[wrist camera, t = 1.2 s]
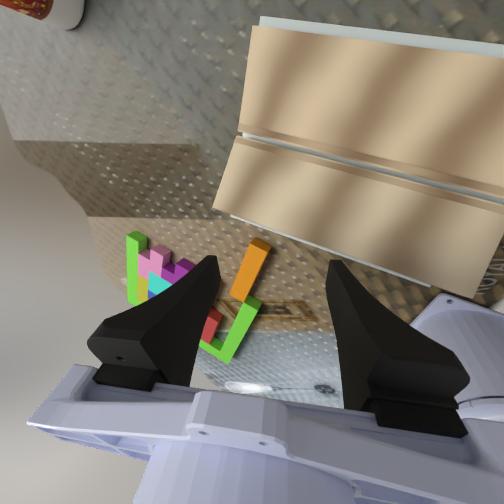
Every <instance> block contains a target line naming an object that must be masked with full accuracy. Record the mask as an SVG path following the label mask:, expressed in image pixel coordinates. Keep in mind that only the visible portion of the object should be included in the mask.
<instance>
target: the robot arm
mask: <svg viewBox="0 0 504 504" xmlns="http://www.w3.org/2000/svg"><path fill="white" fill-rule="evenodd" d="M220 281H221V276H220V271H219V266H218V261H217V256H214V255H207V256H206V257H205V258H204V259H203V260H202V261H200V262H199V263H198V264H197V265H196V266H195V267H194V268H193V269H191V270H190V271H189V272H188V273H187V274H185V275H184V276H183V277H182V278H180V279H179V280H178V281H177V282H175V283H174V284H173V285H171V286H170V287H168V288H167V289H165V290H164V291H162V292H161V293H159V294H157V295H156V296H154V297H152V298H150V299H149V300H147V301H145V302H143V303H141V304H139V305H137V306H135V307H133V308H131V309H129V310H126V311H124V312H122V313H119V314H117V315H114V316H112V317H109V318H107V319H105V320H104V321H103V322H102V323H101V325H100V326H99V327H98V328H97V329H96V331H95V332H94V333H93V334H92V335H91V336H90V338H89V339H88V341H87V345H88V348H89V349H90V350H91V351H92V353H93V354H94V355H95V356H96V357H97V358H98V359H99V360H100V361H101V362H102V363H103V364H102V365H101V366H100V368H99V369H97V368H95V367H92V366H85V365H78V364H75V365H73V366H72V367H71V368H70V369H69V371H68V372H67V373H66V374H65V375H64V377H63V378H62V379H61V380H60V382H59V383H58V384H57V385H56V386H55V388H54V389H53V390H52V391H51V393H50V394H49V395H48V396H47V397H46V399H45V400H44V401H43V402H42V404H41V405H40V406H39V407H38V409H37V410H36V411H35V412H34V413H33V415H32V416H31V417H30V418H29V419H28V421H27V425H29V426H32V427H34V428H36V429H38V430H40V431H42V432H44V433H46V434H49V435H51V436H53V437H55V438H57V439H59V440H61V441H66V442H71V443H76V444H80V445H84V446H88V447H93V448H97V449H101V450H105V451H108V452H113V453H116V454H120V455H124V456H128V457H132V458H135V459H139V460H143V461H147V462H148V465H147V467H146V470H145V472H144V475H143V477H142V480H141V483H140V485H139V488H138V491H137V493H136V496H135V498H134V501H133V503H132V504H504V314H502V313H499V312H497V311H494V310H491V309H488V308H485V307H483V306H480V305H477V304H474V303H471V302H469V301H466V300H463V299H460V298H457V297H454V296H452V295H449V294H446V293H441V294H439V295H437V296H436V297H435V298H434V299H433V301H432V302H431V303H430V304H429V305H428V306H427V307H426V308H425V309H424V310H423V311H422V312H421V313H420V314H419V315H418V317H417V318H416V319H415V320H414V321H413V322H412V323H411V324H410V325H409V324H407V323H406V322H404V321H403V320H402V319H400V318H399V317H397V316H396V315H395V314H393V313H392V312H391V311H390V310H388V309H387V308H386V307H385V306H384V305H382V304H381V303H380V302H379V301H378V300H377V299H375V298H374V297H373V296H372V295H371V294H370V293H369V292H368V291H367V290H366V289H365V288H364V287H363V286H362V284H361V283H360V282H359V281H358V280H357V279H356V278H355V277H354V275H353V274H352V273H351V272H350V271H349V269H348V268H347V267H346V266H345V264H344V263H343V262H342V261H341V260H330V263H329V268H328V273H327V278H326V284H325V285H326V294H327V301H328V305H329V309H330V313H331V317H332V321H333V325H334V330H335V334H336V339H337V347H338V354H339V362H340V371H341V380H342V390H343V401H344V409H340V408H333V407H326V406H319V405H312V404H305V403H298V402H291V401H284V400H277V399H271V398H267V397H261V396H254V395H247V394H240V393H232V392H225V391H218V390H206V389H199V388H192V387H189V385H190V381H191V376H192V371H193V367H194V363H195V359H196V354H197V351H198V347H199V343H200V339H201V336H202V332H203V329H204V326H205V323H206V320H207V317H208V315H209V313H210V310H211V308H212V305H213V303H214V300H215V298H216V295H217V292H218V289H219V285H220ZM450 299H451V301H447V300H450Z"/></svg>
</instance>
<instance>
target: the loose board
mask: <svg viewBox="0 0 504 504" xmlns="http://www.w3.org/2000/svg"><path fill="white" fill-rule="evenodd" d="M213 208H215V209H217V210H220V211H223V212H226V213H228V214H231V215H234V216H237V217H240V218H243V219H245V220H248V221H251V222H254V223H257V224H260V225H262V226H265V227H268V228H271V229H274V230H277V231H279V232H282V233H285V234H288V235H291V236H294V237H296V238H299V239H302V240H305V241H308V242H311V243H313V244H316V245H319V246H322V247H325V248H328V249H330V250H333V251H336V252H339V253H342V254H345V255H347V256H350V257H353V258H356V259H359V260H362V261H365V262H367V263H370V264H373V265H376V266H379V267H382V268H384V269H387V270H390V271H393V272H396V273H399V274H401V275H404V276H407V277H410V278H413V279H416V280H418V281H421V282H424V283H427V284H430V285H433V286H435V287H438V288H441V289H444V290H447V291H450V292H452V293H455V294H458V295H461V296H465V297H468V298H472V299H473V297H474V295H475V293H476V291H477V289H478V287H479V285H480V282H481V280H482V278H483V276H484V274H485V272H486V270H487V268H488V266H489V263H490V261H491V259H492V257H493V255H494V253H495V251H496V249H497V247H498V244H499V242H500V240H501V238H502V236H503V234H504V205H503V204H499V203H495V202H491V201H487V200H483V199H479V198H476V197H472V196H468V195H464V194H460V193H456V192H452V191H449V190H445V189H441V188H437V187H433V186H429V185H425V184H422V183H418V182H414V181H410V180H406V179H402V178H399V177H395V176H391V175H387V174H383V173H379V172H375V171H372V170H368V169H364V168H360V167H356V166H352V165H348V164H345V163H341V162H337V161H333V160H329V159H325V158H321V157H318V156H314V155H310V154H306V153H302V152H298V151H294V150H291V149H287V148H283V147H279V146H275V145H271V144H268V143H264V142H260V141H256V140H252V139H248V138H244V137H241V136H236V138H235V141H234V145H233V148H232V151H231V154H230V157H229V160H228V163H227V166H226V169H225V172H224V174H223V177H222V180H221V183H220V186H219V189H218V192H217V195H216V198H215V201H214V204H213Z"/></svg>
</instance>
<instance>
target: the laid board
mask: <svg viewBox="0 0 504 504" xmlns="http://www.w3.org/2000/svg"><path fill="white" fill-rule="evenodd" d="M238 131H240V132H243V133H247V134H251V135H255V136H259V137H263V138H267V139H271V140H275V141H279V142H283V143H287V144H291V145H295V146H299V147H303V148H306V149H310V150H314V151H318V152H322V153H326V154H330V155H334V156H338V157H342V158H346V159H350V160H354V161H358V162H362V163H365V164H369V165H373V166H377V167H381V168H385V169H389V170H393V171H397V172H401V173H405V174H409V175H413V176H417V177H421V178H425V179H428V180H432V181H436V182H440V183H444V184H448V185H452V186H456V187H460V188H464V189H468V190H472V191H476V192H480V193H484V194H487V195H491V196H495V197H499V198H503V199H504V58H499V57H491V56H484V55H476V54H468V53H461V52H453V51H445V50H438V49H430V48H422V47H415V46H407V45H399V44H392V43H384V42H376V41H369V40H361V39H353V38H346V37H338V36H330V35H323V34H315V33H307V32H300V31H292V30H284V29H277V28H269V27H261V26H254V25H253V27H252V34H251V41H250V48H249V56H248V63H247V70H246V77H245V85H244V92H243V99H242V106H241V114H240V121H239V125H238Z"/></svg>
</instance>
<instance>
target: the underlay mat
mask: <svg viewBox="0 0 504 504" xmlns="http://www.w3.org/2000/svg"><path fill="white" fill-rule="evenodd" d="M259 26H261V27H269V28H277V29H284V30H292V31H300V32H307V33H315V34H323V35H330V36H338V37H346V38H353V39H361V40H369V41H376V42H384V43H392V44H399V45H407V46H415V47H422V48H430V49H438V50H445V51H453V52H461V53H468V54H476V55H484V56H491V57H499V58H504V45H501V44H493V43H485V42H476V41H468V40H459V39H451V38H442V37H434V36H426V35H417V34H409V33H400V32H392V31H384V30H375V29H367V28H358V27H350V26H341V25H333V24H325V23H316V22H308V21H299V20H291V19H282V18H274V17H266V16H260V23H259ZM242 137H244V138H248V139H252V140H256V141H260V142H264V143H268V144H271V145H275V146H279V147H283V148H287V149H291V150H294V151H298V152H302V153H306V154H310V155H314V156H318V157H321V158H325V159H329V160H333V161H337V162H341V163H345V164H348V165H352V166H356V167H360V168H364V169H368V170H372V171H375V172H379V173H383V174H387V175H391V176H395V177H399V178H402V179H406V180H410V181H414V182H418V183H422V184H425V185H429V186H433V187H437V188H441V189H445V190H449V191H452V192H456V193H460V194H464V195H468V196H472V197H476V198H479V199H483V200H487V201H491V202H495V203H499V204H503V203H504V199H503V198H499V197H495V196H491V195H487V194H484V193H480V192H476V191H472V190H468V189H464V188H460V187H456V186H452V185H448V184H444V183H440V182H436V181H432V180H428V179H425V178H421V177H417V176H413V175H409V174H405V173H401V172H397V171H393V170H389V169H385V168H381V167H377V166H373V165H369V164H365V163H362V162H358V161H354V160H350V159H346V158H342V157H338V156H334V155H330V154H326V153H322V152H318V151H314V150H310V149H306V148H303V147H299V146H295V145H291V144H287V143H283V142H279V141H275V140H271V139H267V138H263V137H259V136H255V135H251V134H247V133H243V136H242ZM230 217H233V218H236V219H239V220H241V221H244V222H247V223H250V224H253V225H255V226H258V227H261V228H264V229H267V230H269V231H272V232H275V233H278V234H281V235H284V236H286V237H289V238H292V239H295V240H298V241H300V242H303V243H306V244H309V245H312V246H314V247H317V248H320V249H323V250H326V251H329V252H331V253H334V254H337V255H340V256H343V257H345V258H348V259H351V260H354V261H357V262H360V263H362V264H365V265H368V266H371V267H374V268H376V269H379V270H382V271H385V272H388V273H390V274H393V275H396V276H399V277H402V278H405V279H407V280H410V281H413V282H416V283H419V284H421V285H424V286H427V287H430V286H431V285H430V284H427V283H424V282H421V281H418V280H416V279H413V278H410V277H407V276H404V275H401V274H399V273H396V272H393V271H390V270H387V269H384V268H382V267H379V266H376V265H373V264H370V263H367V262H365V261H362V260H359V259H356V258H353V257H350V256H347V255H345V254H342V253H339V252H336V251H333V250H330V249H328V248H325V247H322V246H319V245H316V244H313V243H311V242H308V241H305V240H302V239H299V238H296V237H294V236H291V235H288V234H285V233H282V232H279V231H277V230H274V229H271V228H268V227H265V226H262V225H260V224H257V223H254V222H251V221H248V220H245V219H243V218H240V217H237V216H234V215H231V216H230Z"/></svg>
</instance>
